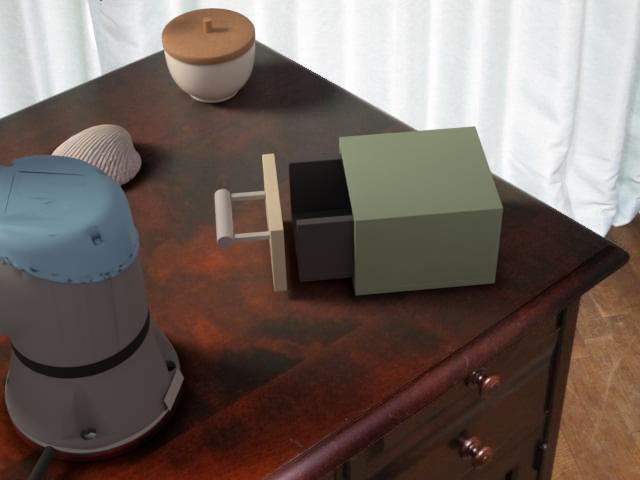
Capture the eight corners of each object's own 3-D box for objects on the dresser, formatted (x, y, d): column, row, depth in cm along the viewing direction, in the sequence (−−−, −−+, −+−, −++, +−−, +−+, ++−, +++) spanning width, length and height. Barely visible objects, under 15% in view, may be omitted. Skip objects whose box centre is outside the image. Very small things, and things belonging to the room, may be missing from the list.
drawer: (222, 296, 109) (215, 235, 104) (217, 218, 118) (211, 158, 112) (404, 280, 110) (406, 219, 105) (386, 204, 119) (388, 143, 114)
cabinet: (355, 295, 110) (355, 220, 104) (340, 210, 120) (339, 137, 113) (494, 283, 111) (503, 208, 105) (469, 199, 120) (475, 125, 114)
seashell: (162, 135, 125) (94, 165, 117) (159, 178, 128) (93, 211, 120) (95, 101, 129) (26, 129, 122) (94, 144, 132) (27, 173, 125)
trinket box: (256, 114, 132) (251, 44, 126) (163, 115, 133) (154, 45, 126) (261, 62, 140) (256, -6, 134) (173, 63, 141) (165, -5, 134)
